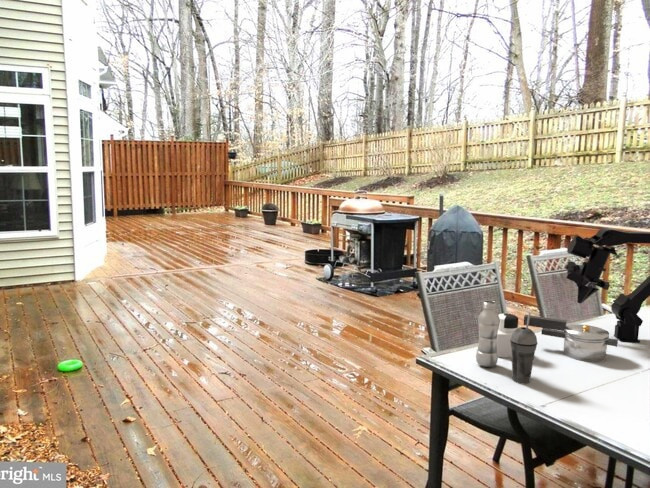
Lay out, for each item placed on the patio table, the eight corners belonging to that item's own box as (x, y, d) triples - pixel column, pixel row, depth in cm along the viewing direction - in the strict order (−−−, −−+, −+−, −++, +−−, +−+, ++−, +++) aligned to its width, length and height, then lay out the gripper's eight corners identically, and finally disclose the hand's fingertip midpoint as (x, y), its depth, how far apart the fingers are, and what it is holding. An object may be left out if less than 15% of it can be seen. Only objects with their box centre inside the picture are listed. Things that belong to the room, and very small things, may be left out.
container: (514, 349, 172) (516, 312, 170) (520, 358, 164) (523, 318, 162) (490, 348, 173) (492, 311, 171) (496, 357, 165) (498, 318, 163)
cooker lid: (609, 331, 169) (610, 322, 168) (608, 343, 158) (608, 333, 157) (527, 319, 182) (527, 311, 181) (520, 329, 170) (521, 320, 170)
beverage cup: (503, 375, 150) (507, 309, 147) (527, 375, 151) (531, 308, 148) (514, 386, 143) (519, 316, 140) (539, 385, 144) (544, 316, 141)
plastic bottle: (497, 363, 160) (501, 300, 157) (497, 371, 153) (501, 306, 151) (476, 360, 162) (479, 298, 159) (474, 368, 156) (478, 304, 153)
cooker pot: (617, 354, 168) (619, 334, 167) (614, 367, 157) (616, 345, 156) (544, 341, 180) (546, 322, 179) (537, 352, 169) (538, 332, 168)
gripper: (589, 258, 193) (573, 296, 196) (561, 251, 183) (545, 291, 185) (618, 269, 184) (600, 308, 187) (590, 261, 173) (572, 304, 176)
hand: (579, 303), depth 184 cm, fingers closed
